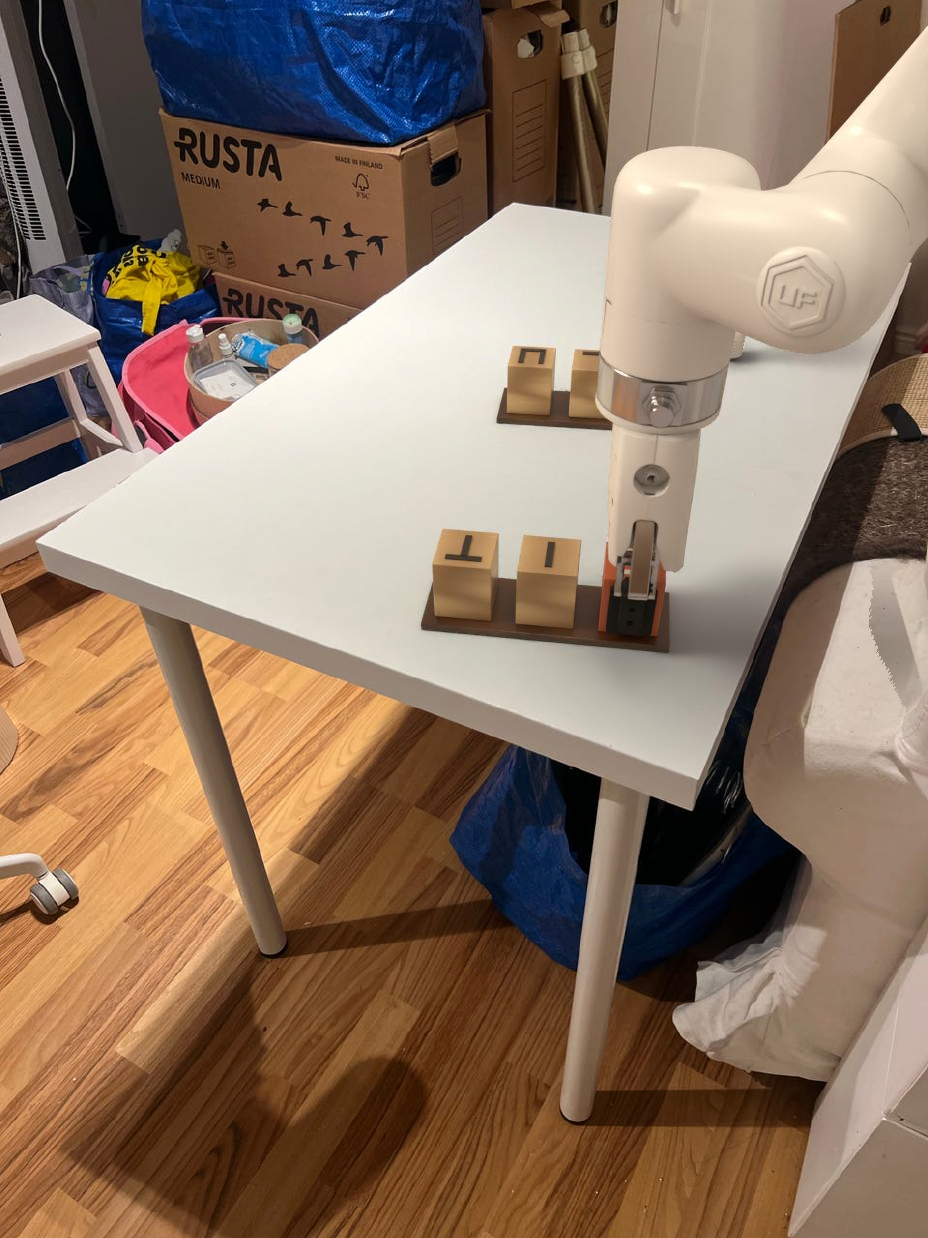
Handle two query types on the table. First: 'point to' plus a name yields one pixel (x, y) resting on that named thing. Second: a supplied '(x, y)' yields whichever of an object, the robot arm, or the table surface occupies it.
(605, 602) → the tile
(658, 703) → the table surface
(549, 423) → the far word
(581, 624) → the near word
